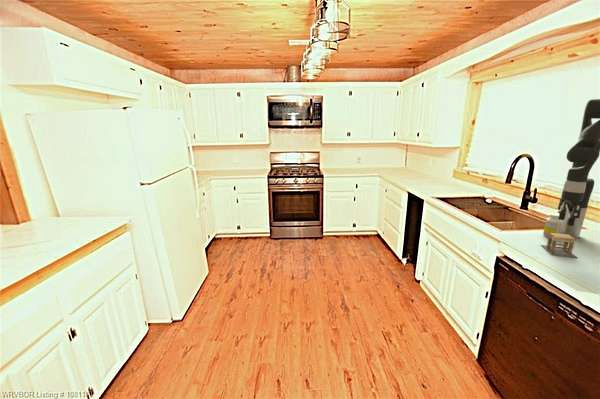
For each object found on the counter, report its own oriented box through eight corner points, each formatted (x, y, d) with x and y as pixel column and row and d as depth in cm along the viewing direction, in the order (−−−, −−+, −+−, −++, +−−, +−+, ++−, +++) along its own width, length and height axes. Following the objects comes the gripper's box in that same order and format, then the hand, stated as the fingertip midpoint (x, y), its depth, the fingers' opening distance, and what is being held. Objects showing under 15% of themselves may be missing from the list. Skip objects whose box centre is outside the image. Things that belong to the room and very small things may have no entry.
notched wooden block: (546, 247, 149) (549, 232, 147) (565, 249, 146) (569, 234, 144) (551, 251, 144) (554, 236, 142) (571, 254, 141) (575, 238, 139)
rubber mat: (540, 245, 152) (541, 244, 152) (564, 248, 149) (564, 247, 149) (551, 255, 141) (552, 254, 141) (577, 258, 138) (577, 257, 138)
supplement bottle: (550, 233, 168) (555, 212, 165) (561, 238, 162) (566, 216, 159) (539, 233, 168) (544, 212, 165) (549, 238, 162) (554, 216, 159)
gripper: (592, 194, 129) (583, 228, 134) (575, 187, 142) (567, 218, 147) (571, 193, 132) (563, 226, 136) (556, 186, 145) (549, 217, 149)
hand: (565, 222), depth 141 cm, fingers open, 8 cm apart
